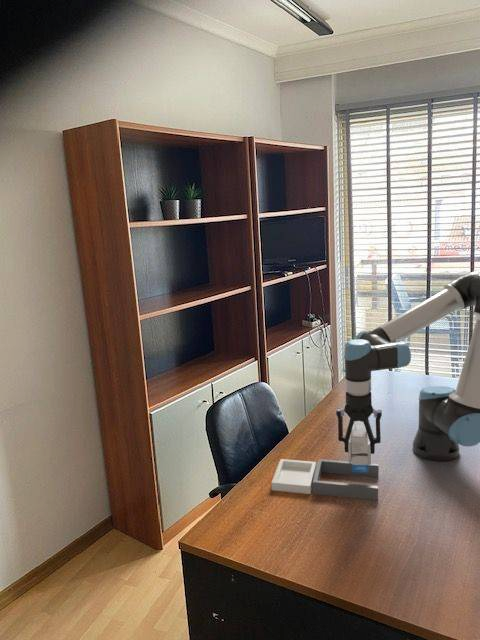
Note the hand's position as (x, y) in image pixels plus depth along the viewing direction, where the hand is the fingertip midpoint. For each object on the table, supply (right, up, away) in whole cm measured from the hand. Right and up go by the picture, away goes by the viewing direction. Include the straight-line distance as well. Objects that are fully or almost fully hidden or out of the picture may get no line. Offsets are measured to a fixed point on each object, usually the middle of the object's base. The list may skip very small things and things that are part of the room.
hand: (359, 461), depth 158 cm
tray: (-19, -8, +7) cm, 22 cm away
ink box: (0, -2, 0) cm, 2 cm away
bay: (-3, -8, +3) cm, 9 cm away
